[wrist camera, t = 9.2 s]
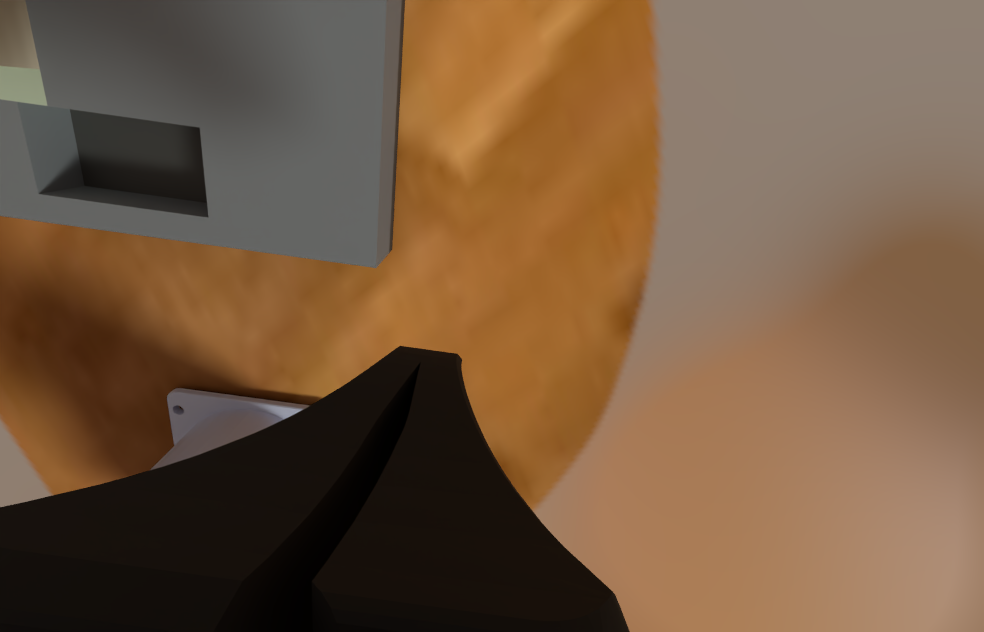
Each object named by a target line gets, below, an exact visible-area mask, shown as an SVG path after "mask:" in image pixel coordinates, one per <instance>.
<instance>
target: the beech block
mask: <svg viewBox="0 0 984 632" xmlns="http://www.w3.org/2000/svg"><path fill="white" fill-rule="evenodd" d="M0 66H7V67H19V68H31V69H40V68H39V63H38V58H37V54H36V49H35V44H34V39H33V35H32V30H31V25H30V20H29V16H28V11H27V6H26V1H25V0H0Z"/></svg>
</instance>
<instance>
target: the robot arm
mask: <svg viewBox="0 0 984 632" xmlns="http://www.w3.org/2000/svg"><path fill="white" fill-rule="evenodd" d="M461 364H462V359H461V358H460V356H459V355H458V354H454V353H447V352H440V351H433V350H426V349H419V348H411V347H404V346H399V347H398V348H396V349H395V350H394V351H392V352H391V353H389V354H388V355H386V356H385V357H384V358H382V359H381V360H380V361H378V362H377V363H375V364H374V365H373V366H371V367H370V368H369V369H367V370H366V371H364V372H363V373H361V374H360V375H359V376H357V377H356V378H354V379H353V380H351V381H350V382H348V383H347V384H345V385H344V386H342V387H341V388H339V389H337V390H336V391H334V392H332V393H331V394H329V395H327V396H326V397H324V398H322V399H321V400H319V401H317V402H316V403H314V404H312V405H311V406H310V405H303V404H295V403H288V402H280V401H273V400H265V399H258V398H251V397H243V396H236V395H228V394H221V393H213V392H206V391H199V390H191V389H184V388H176V389H174V390H172V391H171V392H170V393H169V394H168V395H167V403H168V409H169V416H170V422H171V428H172V435H173V441H174V447H173V448H172V449H171V450H170V451H169V452H168V453H167V454H166V455H165V456H164V457H163V458H162V459H161V460H160V461H159V462H157V463H156V464H155V465H154V466H153V467H152V468H151V469H150V470H149V471H146V472H143V473H139V474H136V475H132V476H129V477H126V478H122V479H118V480H115V481H111V482H107V483H104V484H100V485H96V486H91V487H87V488H83V489H79V490H74V491H70V492H66V493H62V494H57V495H53V496H49V497H45V498H41V499H37V500H32V501H28V502H24V503H19V504H14V505H10V506H5V507H0V632H629V629H628V626H627V624H626V621H625V619H624V616H623V613H622V611H621V608H620V606H619V603H618V601H617V598H616V596H615V594H614V593H613V592H612V591H611V590H610V589H609V588H608V587H607V586H606V585H605V584H604V583H603V582H602V581H601V580H599V579H598V578H597V577H596V576H595V575H594V574H593V573H592V572H591V571H590V570H589V569H587V568H586V567H585V566H584V565H583V564H582V563H581V562H580V561H579V560H578V559H577V558H575V557H574V556H573V555H572V554H571V553H570V552H569V551H568V550H567V549H566V548H565V547H564V546H563V545H562V544H561V543H560V542H559V541H558V540H557V539H556V538H555V537H554V536H553V535H552V534H551V533H550V531H548V529H547V528H546V527H545V526H544V525H543V524H542V523H541V521H540V520H539V519H538V518H537V516H536V515H535V514H534V512H533V511H532V510H531V509H530V507H529V506H528V505H527V504H526V502H525V501H524V500H523V498H522V497H521V496H520V495H519V493H518V492H517V491H516V489H515V488H514V487H513V485H512V484H511V482H510V481H509V479H508V478H507V476H506V475H505V473H504V472H503V470H502V469H501V467H500V465H499V463H498V462H497V460H496V458H495V457H494V455H493V453H492V451H491V450H490V448H489V446H488V444H487V442H486V440H485V438H484V436H483V434H482V432H481V429H480V427H479V425H478V423H477V420H476V418H475V415H474V413H473V410H472V408H471V405H470V402H469V399H468V396H467V393H466V389H465V386H464V381H463V377H462V370H461ZM179 406H181V407H182V408H183V410H182V409H181V408H180V407H179Z"/></svg>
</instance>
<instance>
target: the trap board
mask: <svg viewBox="0 0 984 632" xmlns="http://www.w3.org/2000/svg"><path fill="white" fill-rule="evenodd" d="M25 1H26V6H27V11H28V16H29V20H30V25H31V30H32V35H33V39H34V44H35V49H36V54H37V58H38V63H39V68H40V69H31V68H19V67H7V66H0V216H5V217H12V218H19V219H26V220H34V221H41V222H48V223H55V224H63V225H70V226H77V227H84V228H92V229H99V230H106V231H113V232H120V233H128V234H135V235H142V236H149V237H157V238H164V239H171V240H178V241H185V242H193V243H200V244H207V245H214V246H222V247H229V248H236V249H243V250H250V251H258V252H265V253H272V254H279V255H287V256H294V257H301V258H308V259H316V260H323V261H330V262H337V263H344V264H352V265H359V266H366V267H373V268H376V267H377V266H378V265H379V264H380V263H381V262H382V261H383V259H384V258H385V257H386V256H387V255H388V254H389V253H390V251H391V250H392V240H393V221H394V201H395V182H396V163H397V143H398V124H399V105H400V85H401V66H402V47H403V27H404V8H405V0H25Z"/></svg>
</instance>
